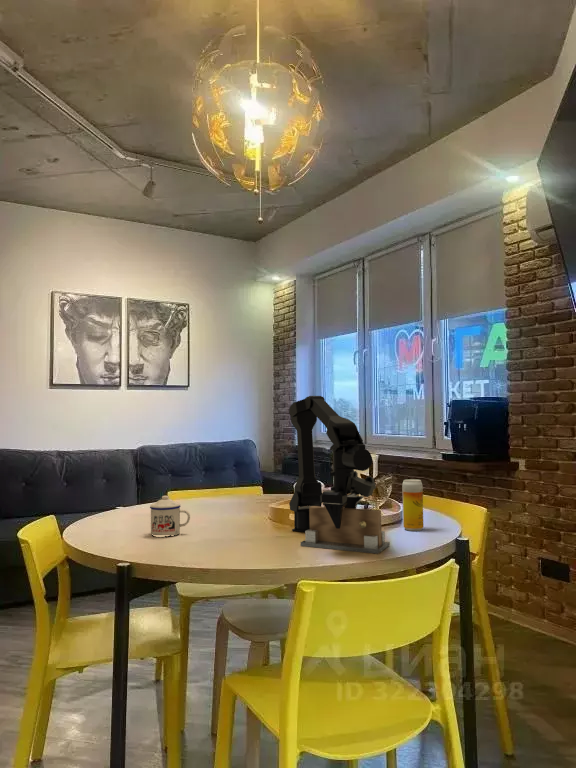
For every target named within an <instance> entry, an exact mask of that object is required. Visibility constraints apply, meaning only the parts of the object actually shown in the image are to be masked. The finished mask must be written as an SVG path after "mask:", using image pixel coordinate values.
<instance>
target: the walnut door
mask: <svg viewBox="0 0 576 768" xmlns="http://www.w3.org/2000/svg"><path fill="white" fill-rule="evenodd" d="M309 517H310V530H318V541H328V542H338V543H349V544H359V545H364V536H365V535H378V546H380V545H382V533H381V531H382V509H380V510H379V509H365V508H356V509H352V508H343V509H342V518H341V526H340V529H337V528H336V527H335V525H334V523H333V521H332V519H331V517H330V515H329V513H328V511H327V509H326V507H325V506H322V505H321V506H311V507H309Z"/></svg>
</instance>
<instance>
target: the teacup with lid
mask: <svg viewBox="0 0 576 768" xmlns="http://www.w3.org/2000/svg"><path fill="white" fill-rule="evenodd" d="M180 508H181V504H180V502H177V501H174V500H173V499H170V497H169V496H168V495H162V496H161V499H159V500H157V501H156V502H154V503H151V504H150V507H149V509H150V535H151V534H153V535H177V534H179V533H181V528H182V527H186V526H187V525H188V524H189V523H190V520H191V514H190V512H189V511H188V510H186V509H180ZM181 513H184V514H186V515H187V520H186V521H185V522H184V523H181V522H180V521H181V520H180V519H181ZM179 535H180V534H179ZM177 536H178V535H177Z"/></svg>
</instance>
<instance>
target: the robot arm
mask: <svg viewBox="0 0 576 768" xmlns="http://www.w3.org/2000/svg"><path fill="white" fill-rule="evenodd" d="M288 413H289V417H290V422H291V424H292V426H293V428H294V429H295V431H296V440H297V441H296V443H297V458H298V459H297V460H298V461H297V463H298V479H297V481H296V482H295V484H294V487H293V488H294V489H293V490H294V493H293V495H292V497H291V499H290V501H289V502H288V504H289V510H290V511H292V512H294V513H293V515H294V516H293V517H294V520H293V521H294V528H291V531H293V532H294V531H295V532H303V533H305V531H306V530H308V529H309V530H310V517H309V507H311V506H322V505H323V506H324V507H326V509H327V511H328V513H329V515H330V517H331V519H332V521H333V523H334V525H335V527H336V528H337V529H340V526H341V518H342V509H343V508H352V509H357V507H358V505H359V502H360V501H362V499H364V497H366V498H368V497H371V496H373V495H374V491H375V490H376V489H377V486H376V485H377V484H376V482H375V477H372V476H366V478H363V477H362V478H361V477H359V476H358V472H357V471H360V472H363V471H364V472H365V471H367V470H368V469H370V467H371V466H372V464H373V457H372V455H371V452H370V451H369V450H367V448H366V444H364V440H363V437H362V436H361V433H360V432H359V430H358V427H357V425H356V424H355V423H354V421H352V420H350V419H349V418H346V417H342V416H341V415H339V414H338V412H336V411H335V410H334V409H333V408H332V407H331V405H329V404H328V402H326V399H325V397H324V396H322V395H309V396H306V397H305V398H303V399H301V400H297V401H294V402H293V403H292V404H291V405H290V406H289V409H288ZM318 420H319V421H320V422H321V423H322V424H323V425H324V426H325V429H326V435H327V437H328V439H329V441H330V442H331V443H332V445H331V446H330V447H329V451H332V471H330V476H331V477H332V482H333V484H332V485H333V486H331V487H330V490H324V491H322V489H323V487H322V486H323V484H322V482H321V481H318V479H317V478H316V475H315V474H316V473H315V458H314V457H315V455H314V454H315V453H314V438H313V429H314V428H315V425H316V423H317V421H318Z"/></svg>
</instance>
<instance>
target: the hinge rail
mask: <svg viewBox="0 0 576 768" xmlns="http://www.w3.org/2000/svg"><path fill="white" fill-rule="evenodd" d="M385 532H386V531H385V530H381V533H382V545H380V546H378V535H365V536H364V545H359V544H349V543H338V542H328V541H318V530H309V529H308V530H306V531H305V532H304V533H305V536H304V537H305V540H302V541H300V546H301V547H308V548H318V549H324V550H325V549H326V550H327V549H328V550H338V551H347V552H357V553H368V554H380V553H381V552H382V551H384V550H385V549H387V548H388V547H390V542H391V541H386V537H385V536H386V535H385V534H386V533H385Z"/></svg>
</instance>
